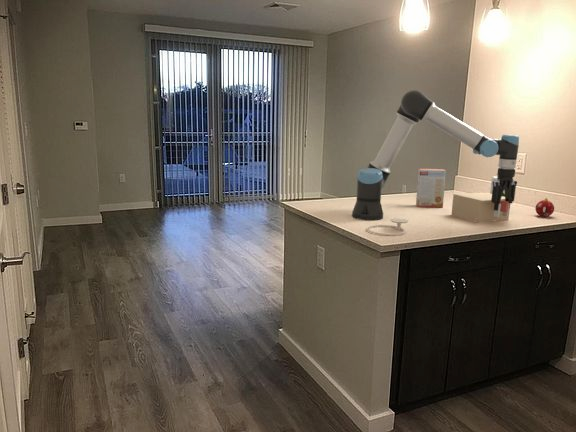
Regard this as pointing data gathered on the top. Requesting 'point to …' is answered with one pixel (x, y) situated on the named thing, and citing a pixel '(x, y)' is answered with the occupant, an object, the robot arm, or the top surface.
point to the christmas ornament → (544, 208)
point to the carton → (475, 210)
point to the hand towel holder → (395, 220)
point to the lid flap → (484, 199)
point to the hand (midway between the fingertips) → (500, 216)
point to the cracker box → (430, 188)
